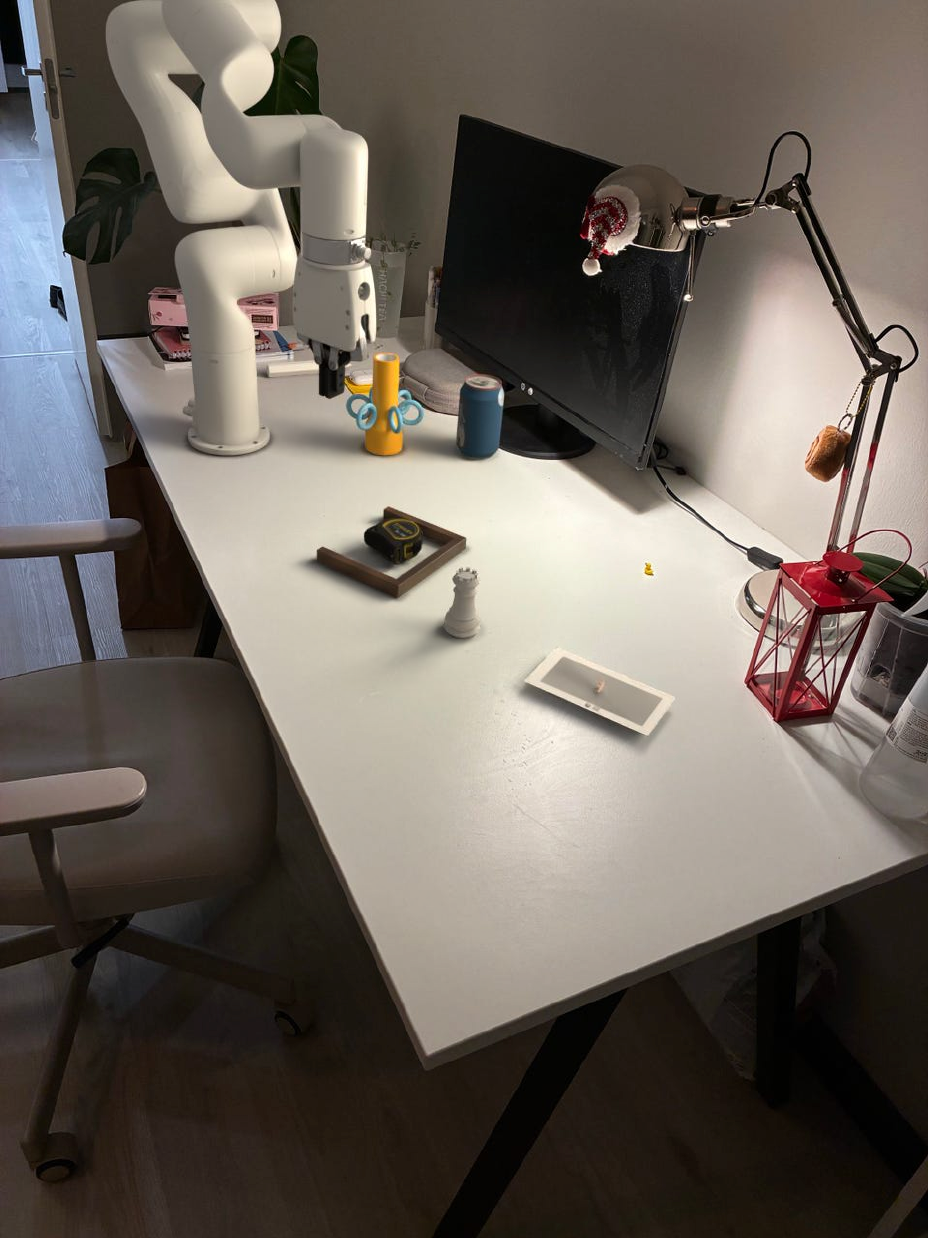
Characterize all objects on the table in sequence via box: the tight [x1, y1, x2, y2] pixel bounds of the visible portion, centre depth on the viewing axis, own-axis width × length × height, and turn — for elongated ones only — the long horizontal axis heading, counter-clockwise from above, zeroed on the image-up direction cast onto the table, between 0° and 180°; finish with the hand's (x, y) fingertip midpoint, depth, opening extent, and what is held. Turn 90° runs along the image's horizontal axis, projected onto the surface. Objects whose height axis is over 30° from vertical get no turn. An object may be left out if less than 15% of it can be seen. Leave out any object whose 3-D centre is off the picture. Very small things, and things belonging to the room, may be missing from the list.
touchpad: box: [523, 646, 677, 737], centre depth 107 cm, size 8×15×2 cm, turn 58°
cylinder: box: [345, 352, 425, 456], centre depth 150 cm, size 12×10×15 cm
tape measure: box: [363, 518, 424, 565], centre depth 128 cm, size 7×7×4 cm
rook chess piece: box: [443, 566, 481, 639], centre depth 114 cm, size 4×4×8 cm
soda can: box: [455, 373, 505, 461], centre depth 153 cm, size 7×7×12 cm
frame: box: [316, 505, 467, 598], centre depth 128 cm, size 13×15×2 cm
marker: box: [266, 359, 353, 378], centre depth 177 cm, size 3×2×16 cm
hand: (331, 393), depth 124 cm, fingers closed
